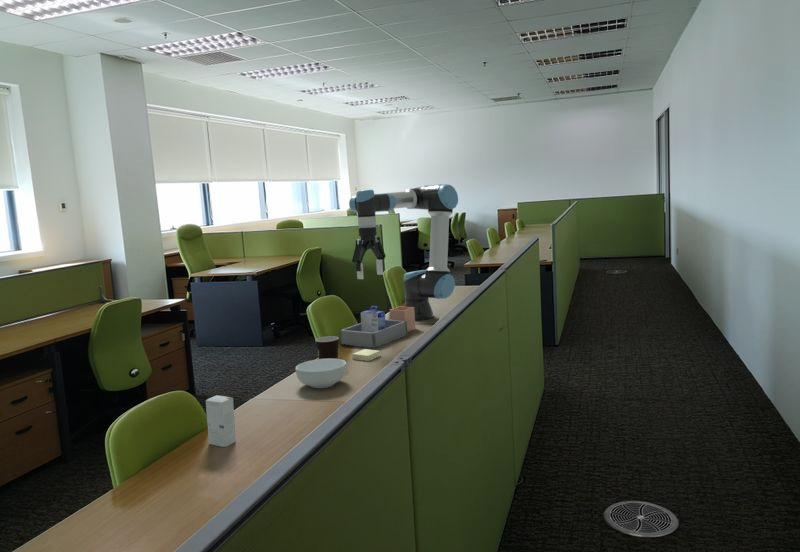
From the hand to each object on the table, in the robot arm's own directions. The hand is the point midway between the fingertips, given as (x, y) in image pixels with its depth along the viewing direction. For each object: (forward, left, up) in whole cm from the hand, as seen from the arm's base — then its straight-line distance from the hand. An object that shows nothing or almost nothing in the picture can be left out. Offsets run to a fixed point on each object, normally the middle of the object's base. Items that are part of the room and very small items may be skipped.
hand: (370, 276), depth 264 cm
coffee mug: (+38, +8, -27) cm, 47 cm away
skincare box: (+107, +31, -27) cm, 115 cm away
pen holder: (-19, +2, -27) cm, 33 cm away
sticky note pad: (+25, +15, -28) cm, 40 cm away
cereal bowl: (+58, +22, -28) cm, 68 cm away
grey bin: (0, 0, -27) cm, 27 cm away
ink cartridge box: (0, 0, -27) cm, 27 cm away
